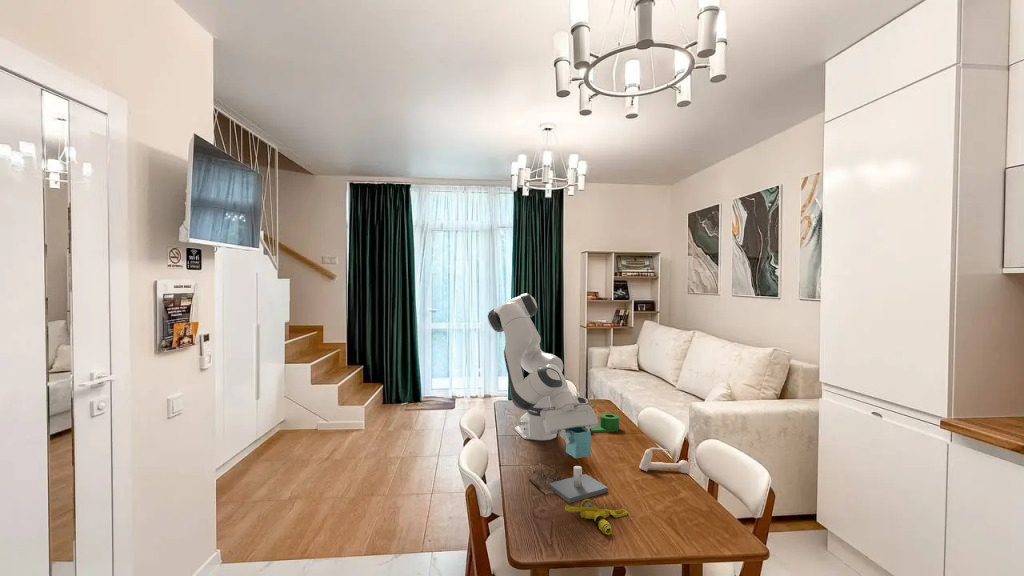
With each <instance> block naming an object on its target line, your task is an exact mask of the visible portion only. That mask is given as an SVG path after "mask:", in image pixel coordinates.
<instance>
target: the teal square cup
mask: <svg viewBox="0 0 1024 576" xmlns="http://www.w3.org/2000/svg"><path fill="white" fill-rule="evenodd" d="M565 434H566V435H567V436H568V437H571V440H572V443H571V444H566V443H565V453H566V454H568V455H569V456H571V457H572V458H574V459H580V458H586V457H590V456H591V455H592V453H591V452H592V450H591V449H592V448H591V447H592V446H591V444H592V442H591V441H592V437H591V436H592V435H591V434H592V433H591V432H590V431H588V430H586V429H584V428H582V427H576V428H569V429H566V433H565Z"/></svg>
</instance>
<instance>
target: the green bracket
mask: <svg viewBox="0 0 1024 576" xmlns="http://www.w3.org/2000/svg"><path fill="white" fill-rule="evenodd" d="M599 417H600V421H599V422H600V423H598V424H597V425H596V426H595V427H594V428H590V430H589V431H590V432H597V433H613V432H614V433H616V432H618V430H619V431H620V416H619V415H618V414H616V413H615V414H614V413H602V414H600V416H599ZM615 431H616V432H615Z"/></svg>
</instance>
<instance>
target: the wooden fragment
mask: <svg viewBox="0 0 1024 576" xmlns="http://www.w3.org/2000/svg"><path fill="white" fill-rule="evenodd" d="M538 464H539V465H538ZM538 464H537V466H536V468H535V469H534V471H533V472H532V474H531V476H530V477H529V482H531V483H533V485H534V486H536V487H537V489H539V490H540V491H541V492H543V493H544V495H545V496H549V495H553V494H556V493H555V491H554V490H552V489H551V488H549V487H548V483H552V482H556V481H558V479H559V478H560V474H558V473H557V470H556V469H554V468H552V467H549V466H546V465H545V464H542V463H538ZM541 464H542V465H541Z"/></svg>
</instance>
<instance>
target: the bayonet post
mask: <svg viewBox="0 0 1024 576" xmlns="http://www.w3.org/2000/svg"><path fill="white" fill-rule="evenodd" d="M548 487H549V488H551V489H552V490H554V491H555V493H554V494H556V495H558V496H559V497H560V498H561V499H563V500H564V501H566V502H567V503H568V504H571V503H574V502H578V501H581V500H582V501H583V500H585V499H590V498H591V497H595V496H598V495H602V494H606V493H608V492H609V488H608V486H606V485H604V483H601V482H600V481H598V480H597V479H595V478H594V477H592V476H591V475H588V474H587V473H584V474H583V467H582V466H580V465H575V466H573V476H572V477H568V478H564V479H561V480H557V481H556V482H552V483H548Z"/></svg>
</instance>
